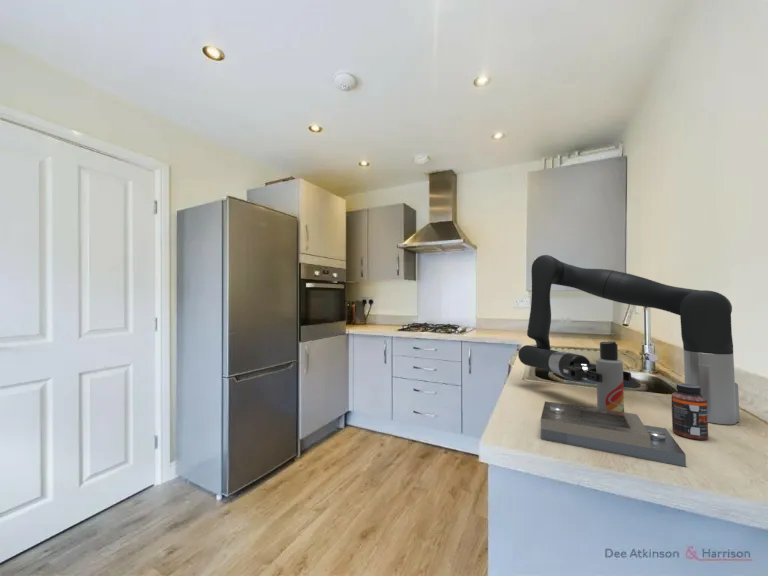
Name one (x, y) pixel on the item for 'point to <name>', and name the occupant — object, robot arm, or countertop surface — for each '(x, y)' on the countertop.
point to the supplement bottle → (689, 412)
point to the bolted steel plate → (609, 432)
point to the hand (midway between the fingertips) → (615, 377)
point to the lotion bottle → (610, 378)
